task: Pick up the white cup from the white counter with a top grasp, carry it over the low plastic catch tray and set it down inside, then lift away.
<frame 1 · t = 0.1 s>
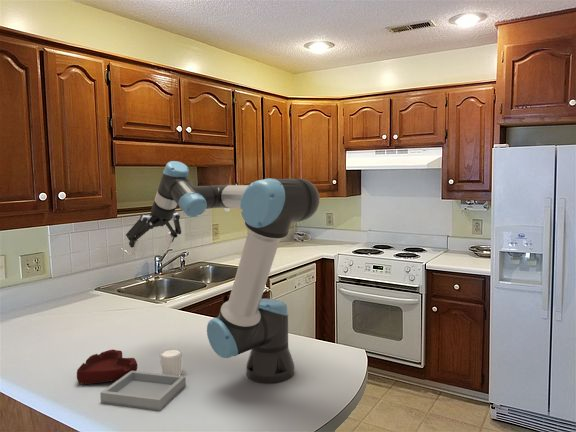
hand: (149, 250, 162), 36 cm above the countertop, tool tilted 35°, fingers open, 13 cm apart
white cup: (172, 375, 142), on the countertop
catch tray: (144, 394, 129), on the countertop
ashtray: (104, 377, 142), on the countertop
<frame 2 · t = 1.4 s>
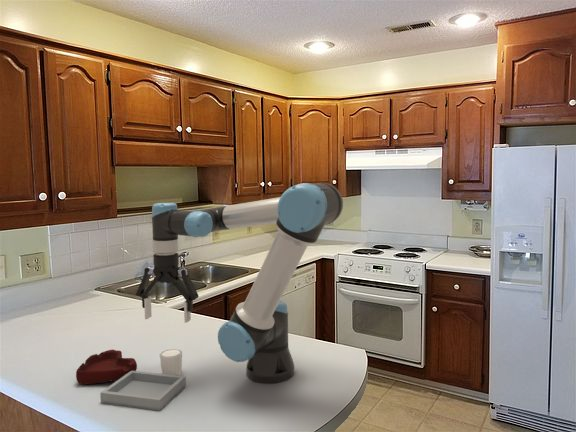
hand: (167, 319, 142), 17 cm above the countertop, tool pointing down, fingers open, 13 cm apart
nothing on the countertop moved.
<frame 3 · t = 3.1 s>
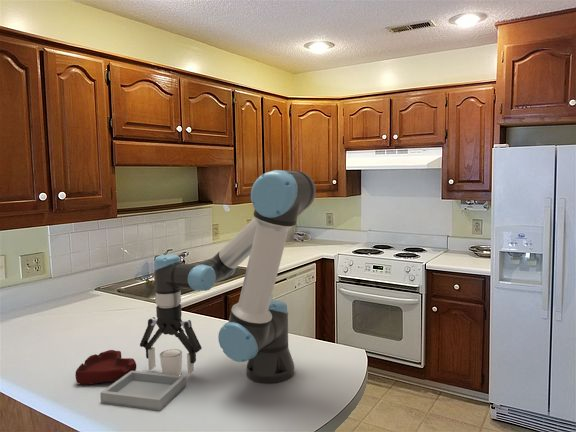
hand: (171, 370, 142), 1 cm above the countertop, tool pointing down, fingers open, 13 cm apart
nothing on the countertop moved.
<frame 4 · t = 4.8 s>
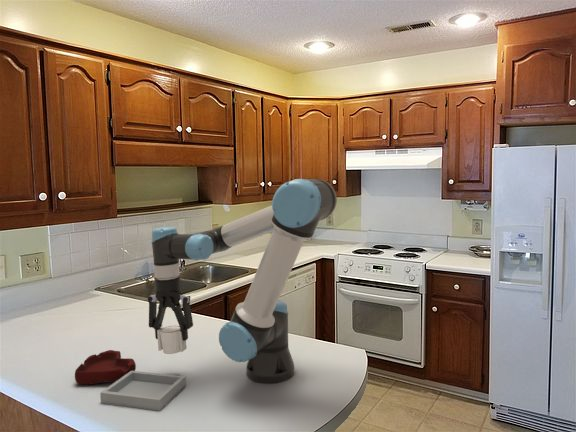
hand: (172, 349, 141), 8 cm above the countertop, tool pointing down, fingers closed on white cup, 7 cm apart
white cup: (172, 351, 141), point 8 cm above the countertop, touching gripper
everything else where it was.
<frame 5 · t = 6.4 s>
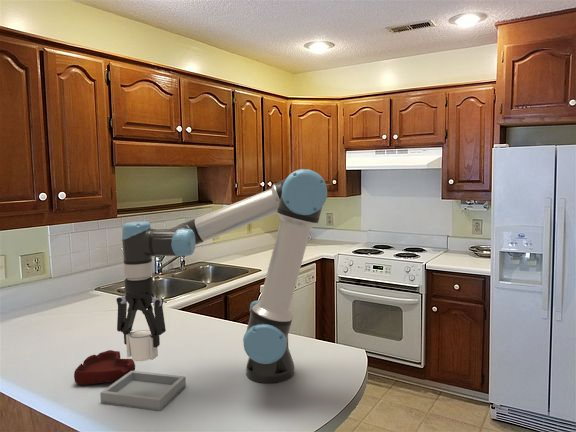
hand: (142, 356, 128), 11 cm above the countertop, tool pointing down, fingers closed on white cup, 7 cm apart
white cup: (142, 358, 128), point 11 cm above the countertop, touching gripper
everything else where it was.
when the fingers open (1 cm above the countertop, at t = 8.1 s): white cup stays where it is, resting on catch tray.
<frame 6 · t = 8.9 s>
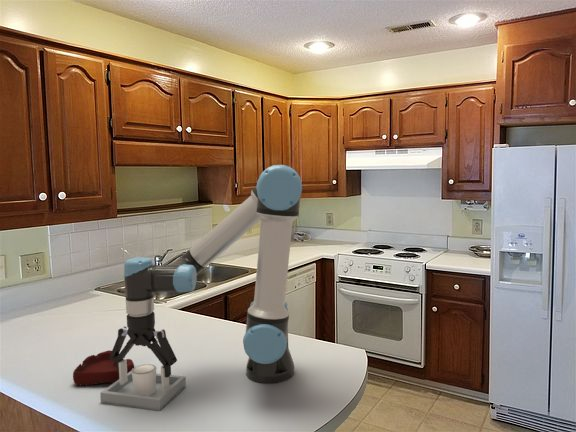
hand: (144, 385, 129), 3 cm above the countertop, tool pointing down, fingers open, 13 cm apart
white cup: (145, 392, 129), resting on catch tray
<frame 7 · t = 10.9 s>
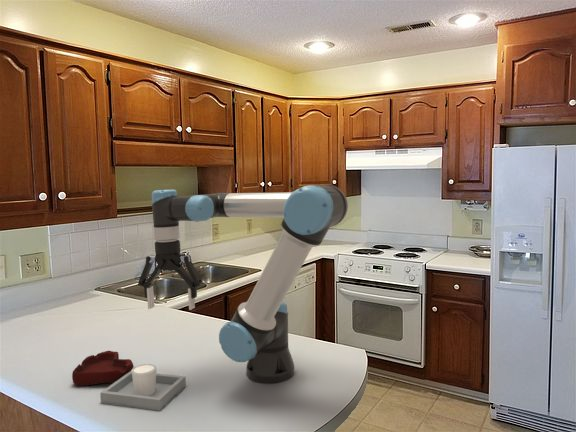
hand: (171, 308, 140), 21 cm above the countertop, tool pointing down, fingers open, 13 cm apart
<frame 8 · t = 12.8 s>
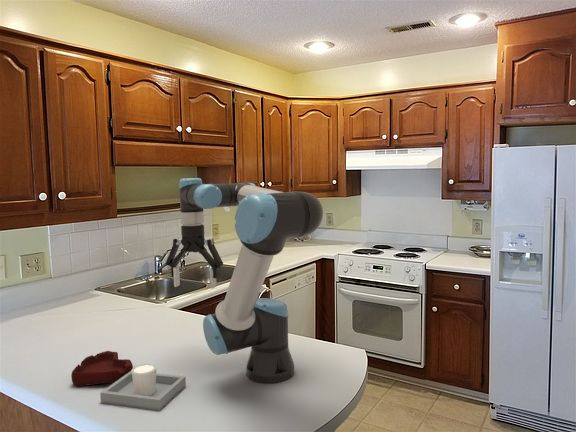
hand: (195, 286, 153), 25 cm above the countertop, tool pointing down, fingers open, 13 cm apart
at the end: white cup inside the target area (0.1 cm from its centre), resting on catch tray; the gripper is holding nothing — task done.
